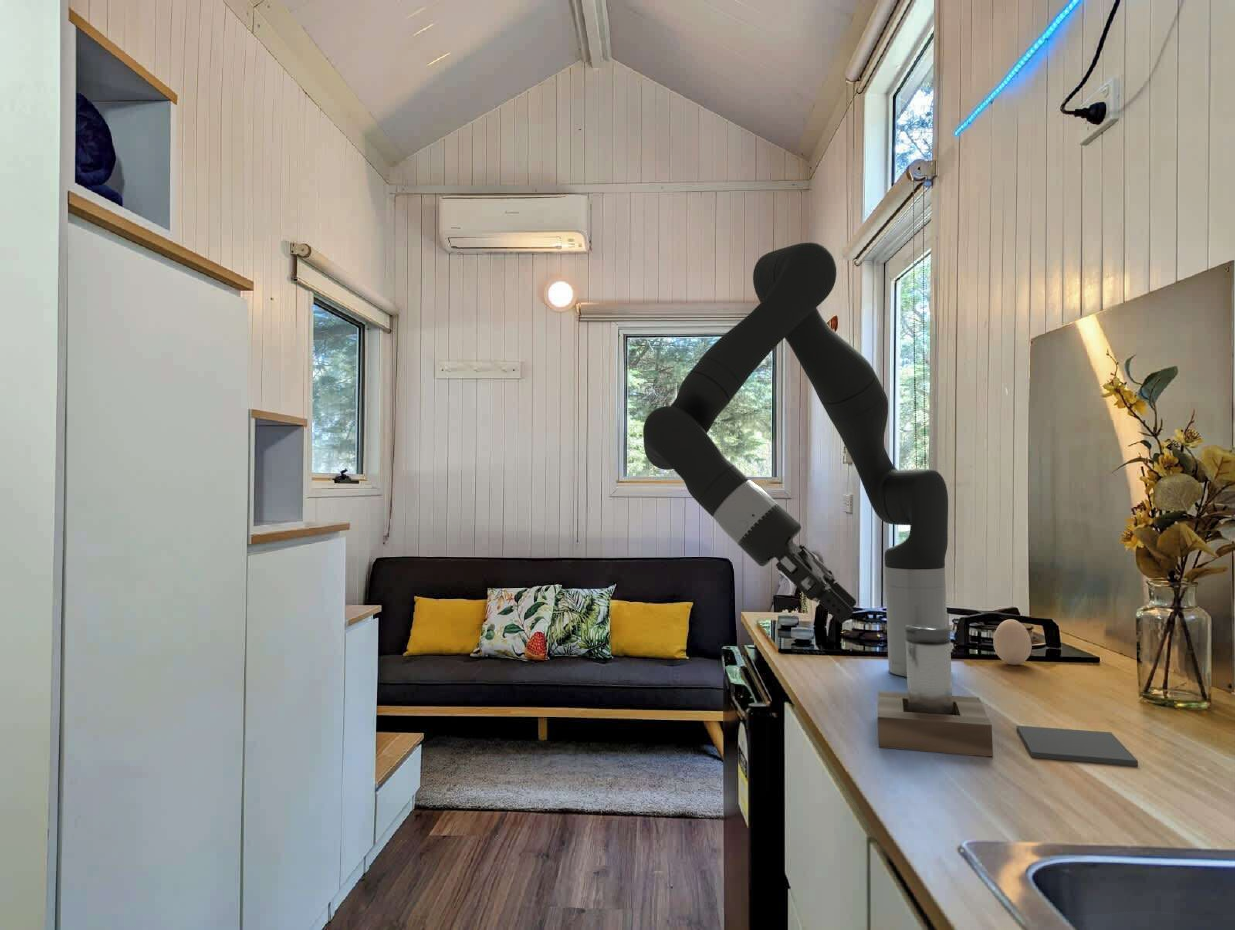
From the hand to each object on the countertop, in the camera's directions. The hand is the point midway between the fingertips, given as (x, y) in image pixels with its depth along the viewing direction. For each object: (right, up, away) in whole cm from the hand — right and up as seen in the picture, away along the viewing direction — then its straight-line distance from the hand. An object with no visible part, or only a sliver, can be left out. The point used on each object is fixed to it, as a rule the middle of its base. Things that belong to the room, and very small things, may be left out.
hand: (850, 612), depth 95 cm
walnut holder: (+9, -14, -4) cm, 17 cm away
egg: (+38, -15, +33) cm, 52 cm away
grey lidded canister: (+9, -14, -4) cm, 17 cm away
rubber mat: (+23, -14, -9) cm, 28 cm away
